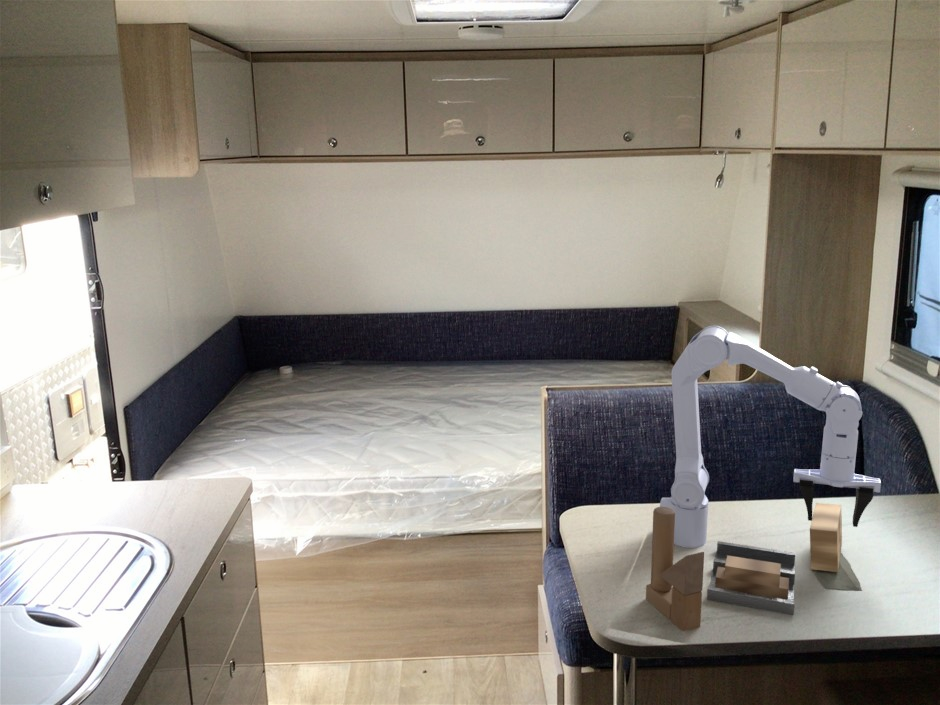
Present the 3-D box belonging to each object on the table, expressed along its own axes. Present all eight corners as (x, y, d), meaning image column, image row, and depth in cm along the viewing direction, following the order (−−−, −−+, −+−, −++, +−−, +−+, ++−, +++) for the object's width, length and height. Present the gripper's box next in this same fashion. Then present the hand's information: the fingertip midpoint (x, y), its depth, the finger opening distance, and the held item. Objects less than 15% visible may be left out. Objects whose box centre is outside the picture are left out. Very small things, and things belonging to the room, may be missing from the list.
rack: (706, 603, 138) (707, 589, 137) (717, 554, 155) (717, 541, 154) (793, 619, 132) (794, 604, 132) (794, 566, 149) (795, 552, 149)
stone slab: (816, 603, 140) (875, 599, 139) (815, 589, 140) (875, 585, 138) (783, 545, 162) (834, 541, 161) (782, 533, 162) (833, 529, 160)
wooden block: (682, 635, 129) (687, 534, 124) (644, 603, 138) (648, 507, 134) (701, 630, 130) (706, 529, 126) (662, 598, 140) (666, 504, 135)
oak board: (816, 540, 156) (815, 502, 155) (842, 543, 154) (841, 504, 152) (810, 569, 146) (809, 528, 144) (837, 572, 144) (836, 531, 142)
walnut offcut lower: (714, 589, 140) (715, 577, 140) (717, 579, 144) (717, 566, 143) (787, 602, 136) (788, 589, 135) (787, 590, 140) (788, 578, 139)
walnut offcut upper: (724, 578, 139) (725, 565, 139) (726, 568, 143) (727, 555, 142) (779, 587, 136) (780, 574, 135) (779, 576, 140) (780, 563, 139)
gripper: (795, 455, 144) (790, 524, 147) (885, 465, 138) (877, 536, 142) (796, 443, 150) (790, 509, 153) (881, 452, 145) (874, 520, 148)
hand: (832, 521), depth 148 cm, fingers open, 7 cm apart
